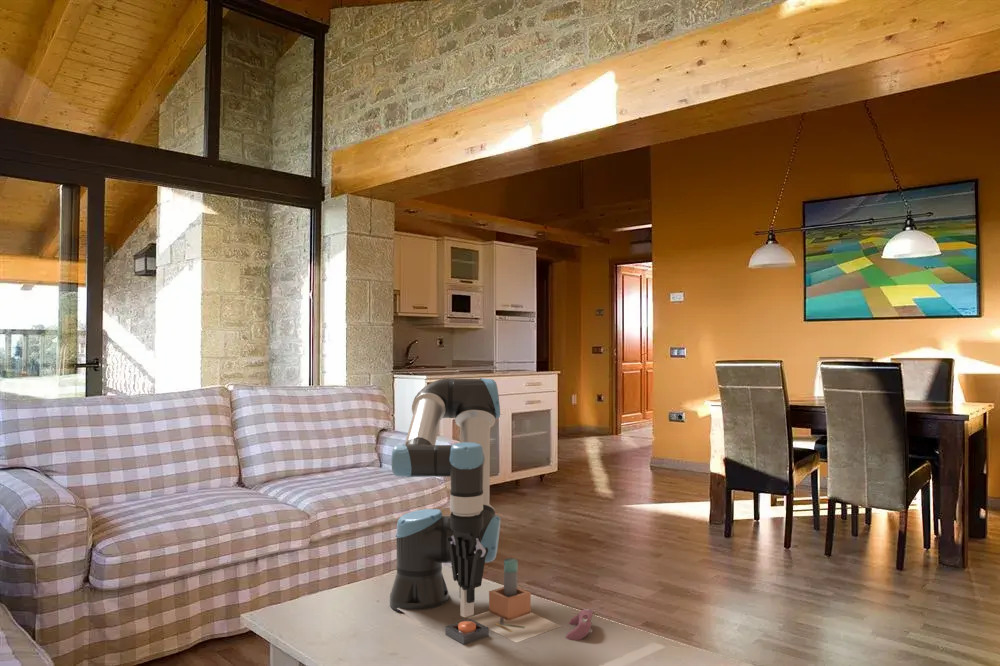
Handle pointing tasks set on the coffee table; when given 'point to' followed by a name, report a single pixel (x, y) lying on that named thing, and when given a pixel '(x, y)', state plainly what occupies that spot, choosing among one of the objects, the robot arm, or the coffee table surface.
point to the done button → (466, 626)
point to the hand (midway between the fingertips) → (467, 614)
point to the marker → (510, 577)
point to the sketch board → (515, 625)
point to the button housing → (467, 637)
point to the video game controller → (581, 625)
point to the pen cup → (509, 603)
